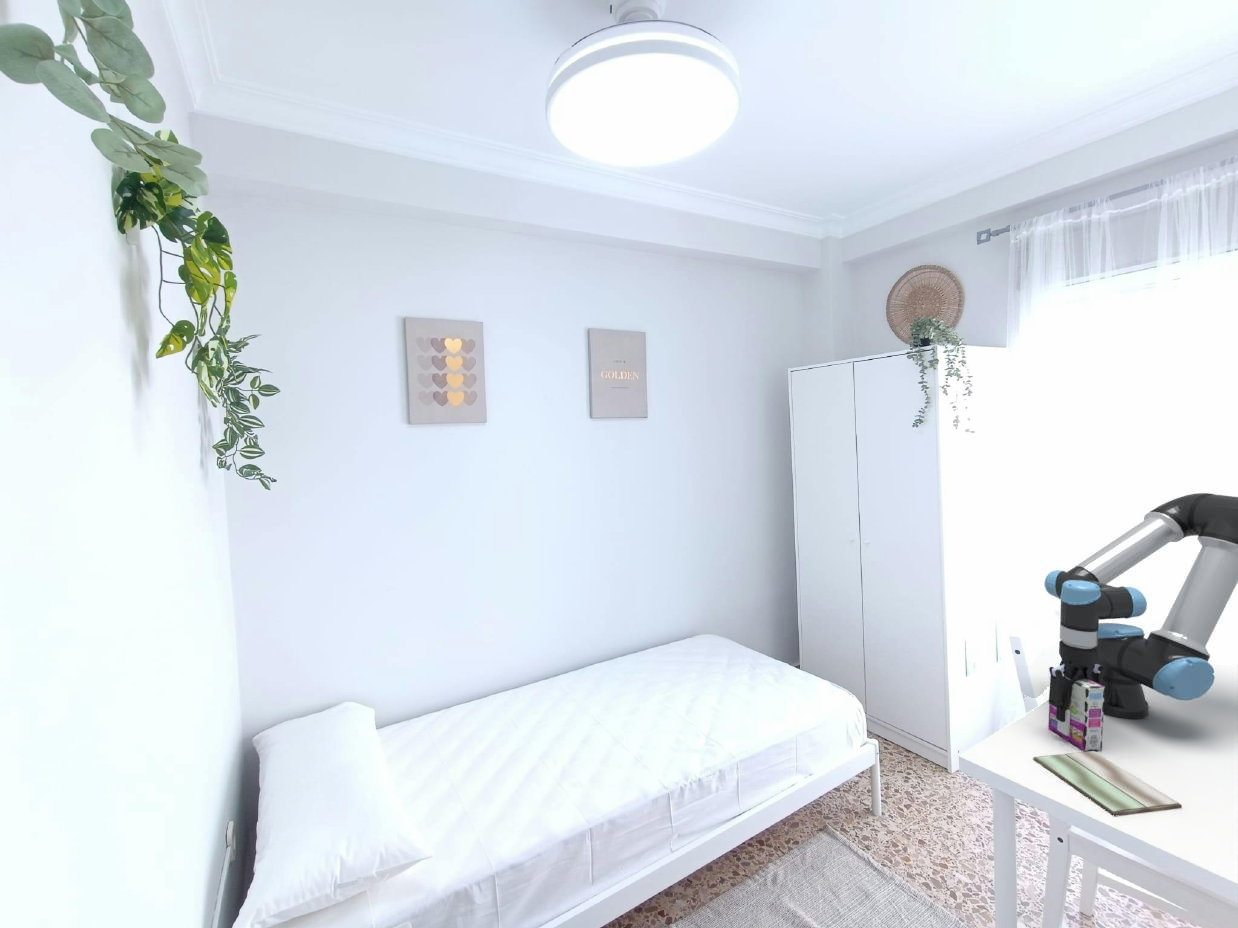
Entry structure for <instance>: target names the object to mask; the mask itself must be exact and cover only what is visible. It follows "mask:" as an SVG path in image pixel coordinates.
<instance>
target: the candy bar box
mask: <svg viewBox="0 0 1238 928" xmlns="http://www.w3.org/2000/svg"><path fill="white" fill-rule="evenodd" d="M1049 677H1050V679H1051V675H1050V676H1049ZM1065 678H1067V677H1066V676H1065ZM1050 679H1049V680H1050ZM1067 679H1069V678H1067ZM1069 680H1070V681H1072V679H1069ZM1104 690H1105V687H1104V686H1102V685H1100V684H1098V683H1096V682H1094V681H1092V680H1087V679H1078V681H1075V682H1074V685H1072V695H1071V699H1070V702H1069V705H1068V708H1067V709H1068V710H1070V732H1069V736H1066V735H1064V734H1063V733H1061V732H1060V731H1058V730H1057V725H1058V720H1057V719H1056V707H1054V706H1052V705H1051V704H1049V703H1048V704H1049V705H1048V725H1047V726H1048V730H1050V731H1051V732H1053V733H1055V734H1056V735H1057V736H1059V737H1061V738H1062V739H1064V740H1065V741H1066V742H1067V741H1068V743H1070V744H1072V745H1073V746H1075V747H1076V748H1078V749H1079V750H1081V751H1082V752H1086V751H1095V752H1099V751H1102V748H1103V729H1104V728H1103V726H1104V713H1103V712H1104ZM1061 704H1062V703H1061Z"/></svg>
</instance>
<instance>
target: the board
mask: <svg viewBox="0 0 1238 928" xmlns="http://www.w3.org/2000/svg"><path fill="white" fill-rule="evenodd" d="M1033 760H1034V762H1037V763H1038V764H1039V765H1040V766H1042V767H1043V768H1044V769H1046V770H1048V771H1049V772H1050V773H1051V774H1054V775H1055V776H1056V777H1058V778H1059V779H1060V780H1062V781H1063V782H1065V783H1066V784H1068V785H1069V786H1070V787H1072V788H1073V789H1074V790H1076V791H1078V792H1079V793H1080V794H1081V795H1083V796H1085V797H1086V798H1087V797H1088V798H1087V799H1089V800H1090V799H1091V800H1090V801H1091V802H1093V801H1094V803H1095V804H1096V803H1097V804H1099V805H1098V806H1099V807H1100V806H1101V807H1100V808H1102V809H1103V810H1104V809H1105V810H1104V811H1106V812H1107V811H1108V812H1107V813H1109V815H1112V816H1113V815H1115V816H1114V817H1117V816H1116V815H1119V816H1124V815H1125V816H1127V815H1134V814H1143V813H1149V812H1158V811H1166V810H1174V809H1175V810H1176V809H1182V808H1183V806H1182V803H1180V802H1178V801H1176V800H1175V799H1174V798H1172V797H1170V796H1168V795H1167V794H1165V793H1164V792H1162V791H1160V790H1159V789H1157V788H1156V787H1153V786H1152V785H1150V784H1149V783H1147V782H1145V781H1144V780H1142V779H1140V778H1139V777H1137V776H1136V775H1133V773H1131V772H1129V771H1128V770H1125V769H1124V768H1122V767H1121V766H1119V765H1117V764H1116V763H1114V762H1112V761H1111V760H1110V759H1108V758H1106V757H1104V756H1103V755H1101V754H1099V753H1098V752H1097V751H1086V752H1085V751H1078V752H1068V753H1060V754H1059V753H1058V754H1052V755H1042V756H1041V755H1040V756H1033ZM1097 804H1096V805H1097Z"/></svg>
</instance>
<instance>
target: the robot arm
mask: <svg viewBox="0 0 1238 928" xmlns="http://www.w3.org/2000/svg"><path fill="white" fill-rule="evenodd" d="M1193 536H1194V537H1195V536H1196V537H1197V540H1198V542H1199V544H1200V545H1201V549H1200V550H1199V552H1198V554H1197V557H1196V558H1195V560H1194V562H1193V564H1192V565H1191V568H1190V571H1189V572H1188V574H1187V577H1186V578H1185V580H1184V582H1183V584H1182V587H1180V590H1179V592H1178V595H1177V596H1176V599H1175V600H1174V602H1173V604H1172V606H1171V608H1170V610H1169V612H1168V614H1167V617H1166V619H1165V620H1164V622H1163V624H1162V626H1161V628H1159V629H1156V630H1152V631H1150V633H1149V634H1148V637H1147V638H1145V635H1146V633H1145V632H1144V630H1143V628H1141V627H1138V626H1136V625H1131V624H1124V623H1117V622H1115V623H1114V622H1100V621H1102V620H1104V621H1105V620H1113V619H1114V620H1115V619H1131V618H1136V617H1141V616H1142V615H1144V614H1145V613H1146V611H1147V606H1148V602H1147V599H1146V597H1145V595H1144V594H1143V593H1142V592H1141V591H1140V590H1139V589H1137V588H1135V587H1132V586H1124V585H1123V586H1113V585H1109V583H1111V582H1112V581H1114V580H1115V579H1116V578H1118V577H1120V576H1121V575H1122V574H1124V573H1125V572H1127V571H1129V570H1130V569H1131V568H1133V567H1134V566H1136V565H1137V564H1139V563H1140V562H1142V561H1144V559H1146V558H1148V557H1149V556H1151V555H1153V554H1154V553H1156V552H1158V550H1160V549H1161V548H1163V547H1164V546H1166V545H1168V544H1169V543H1177V542H1180V541H1182V540H1183V539H1184V538H1187V537H1193ZM1237 584H1238V496H1233V495H1232V496H1231V495H1223V494H1215V493H1209V492H1200V493H1191V494H1186V495H1183V496H1180V497H1177V498H1174V499H1172V500H1169V501H1166V502H1164V503H1163V504H1161V505H1159V506H1157V507H1155V508H1154V509H1152V510H1150V511H1149V512H1147V513H1146V514H1145V515H1144V517H1143V520H1142V521H1141V522H1139V523H1138V524H1137V525H1135V526H1134V527H1132V528H1131V529H1129V530H1128V531H1126V532H1125V533H1123V534H1122V535H1120V536H1119V537H1117V538H1116V539H1114V540H1112V541H1111V542H1110V543H1109V544H1107V545H1105V546H1104V547H1102V548H1101V549H1099V550H1097V551H1096V552H1095V553H1093V554H1092V555H1090V556H1089V557H1087V558H1086V559H1084V560H1083V561H1081V562H1080V563H1078V564H1077V565H1075V566H1074V567H1072V568H1071V569H1069V570H1068V571H1065V570H1053V571H1050V572H1049V573H1048V574H1047V575H1046V576H1045V579H1044V588H1045V591H1046V592H1047V593H1048V594H1049V595H1050V596H1053V597H1055V598H1057V599H1059V600H1060V623H1059V624H1060V625H1059V639H1060V641H1059V646H1058V654H1059V656H1060V658H1061V661H1060V663H1059V666H1057V667H1054V666H1050V667H1049V668H1048V671H1049V673H1050V675H1051V679H1049V680H1050V681H1049V683H1050V684H1049V691H1048V704H1051V705H1052V706H1054V707H1056V719H1057V720H1058V725H1057V730H1058V731H1060V732H1061V733H1063V734H1064V735H1066V736H1069V732H1070V710H1068V709H1067V708H1068V705H1069V702H1070V699H1071V695H1072V685H1074V682H1075V681H1078V679H1087V680H1092V681H1094V682H1096V683H1098V684H1100V685H1102V686H1104V687H1105V690H1104V712H1103V715H1104V714H1105V715H1108V716H1111V717H1115V718H1121V719H1132V720H1138V719H1143V718H1146V717H1148V716H1149V711H1150V709H1149V707H1150V706H1149V703H1148V701H1147V700H1146V697H1145V692H1144V689H1143V686H1145V687H1147V688H1149V689H1150V690H1151V689H1152V690H1154V691H1156V692H1157V693H1159V694H1161V695H1162V696H1163V695H1164V696H1167V697H1170V698H1173V699H1175V700H1179V701H1191V700H1194V699H1198V698H1200V697H1203V696H1204V695H1205V694H1206V693H1207V692H1208V691H1209V690H1210V689H1211V687H1212V686H1213V684H1214V681H1215V669H1214V667H1213V666H1212V664H1211V663H1209V660H1210V657H1211V655H1210V653H1209V651H1208V649H1207V647H1206V646H1207V644H1208V642H1209V640H1210V638H1211V636H1212V634H1213V632H1214V630H1215V628H1216V626H1217V624H1218V623H1219V620H1220V618H1221V616H1222V614H1223V612H1224V610H1225V608H1226V607H1227V604H1228V602H1229V600H1230V599H1231V596H1232V594H1233V592H1234V591H1235V588H1236V586H1237ZM1065 676H1066V677H1067V678H1069V679H1072V681H1070V680H1069V679H1067V678H1065ZM1061 703H1062V704H1061Z"/></svg>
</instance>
